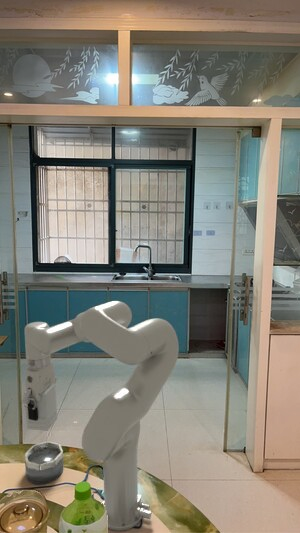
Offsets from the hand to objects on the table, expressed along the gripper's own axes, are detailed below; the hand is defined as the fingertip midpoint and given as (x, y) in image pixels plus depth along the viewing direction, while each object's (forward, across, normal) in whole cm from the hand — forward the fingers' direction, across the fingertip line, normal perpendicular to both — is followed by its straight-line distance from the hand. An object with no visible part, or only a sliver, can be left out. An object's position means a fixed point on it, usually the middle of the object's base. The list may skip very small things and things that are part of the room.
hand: (41, 412), depth 118 cm
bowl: (+21, 0, 0) cm, 21 cm away
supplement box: (+4, 0, 0) cm, 4 cm away
